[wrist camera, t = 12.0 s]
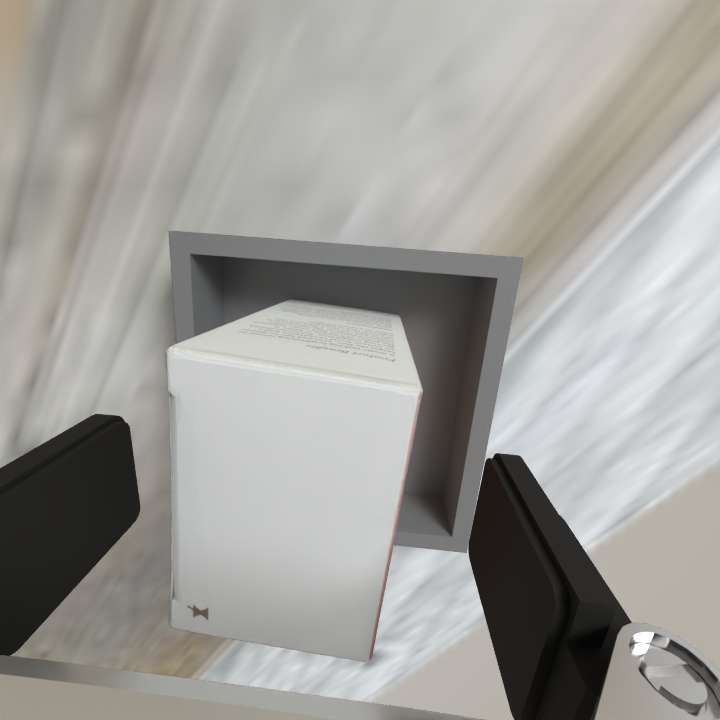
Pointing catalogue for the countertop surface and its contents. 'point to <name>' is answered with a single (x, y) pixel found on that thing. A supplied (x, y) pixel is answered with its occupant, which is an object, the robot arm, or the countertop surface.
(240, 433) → the small box
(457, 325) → the tray
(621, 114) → the countertop surface
